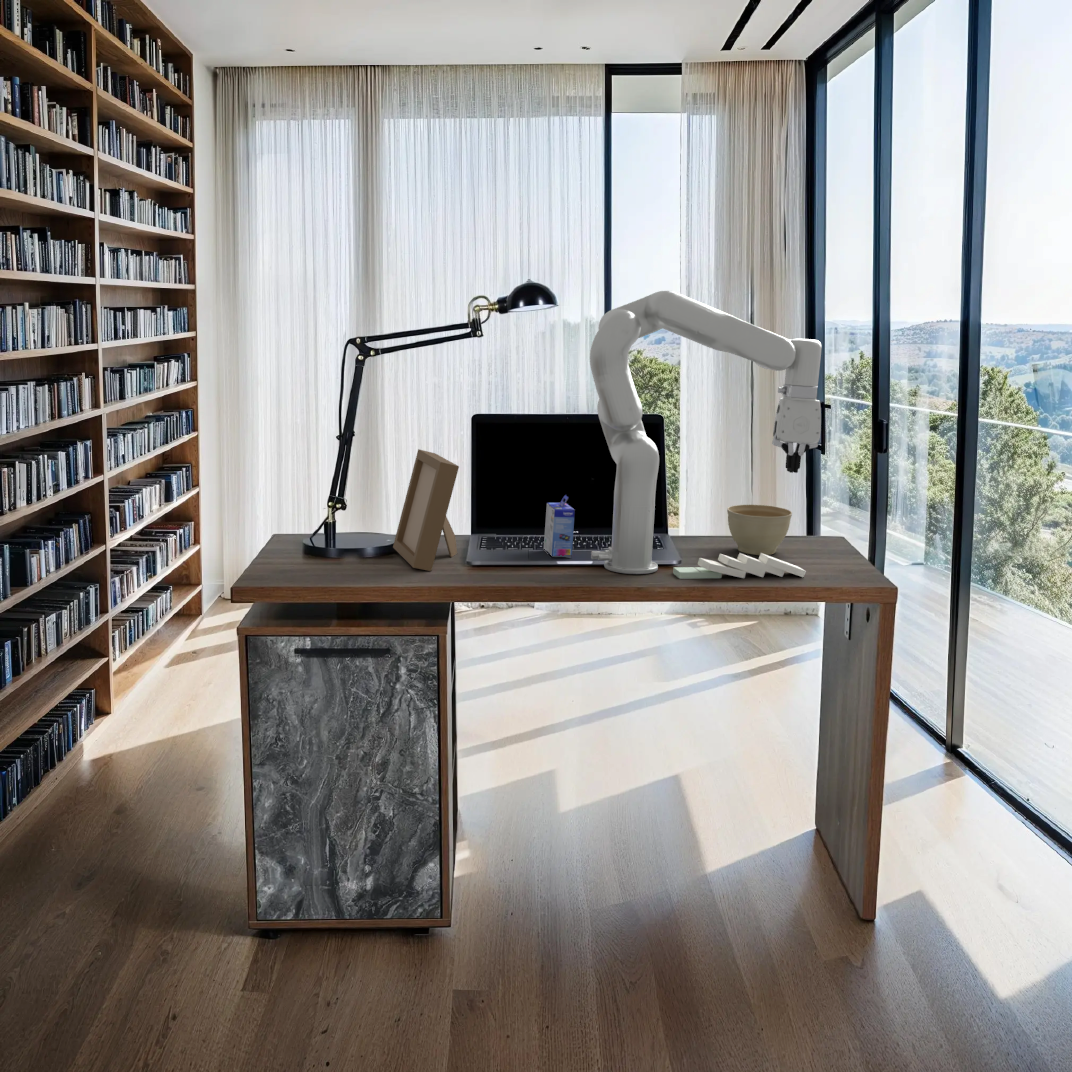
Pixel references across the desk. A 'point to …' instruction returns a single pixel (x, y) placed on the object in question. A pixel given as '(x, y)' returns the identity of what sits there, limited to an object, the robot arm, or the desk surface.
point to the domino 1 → (695, 573)
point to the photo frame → (426, 511)
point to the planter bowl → (758, 527)
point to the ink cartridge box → (559, 528)
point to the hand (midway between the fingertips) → (792, 471)
